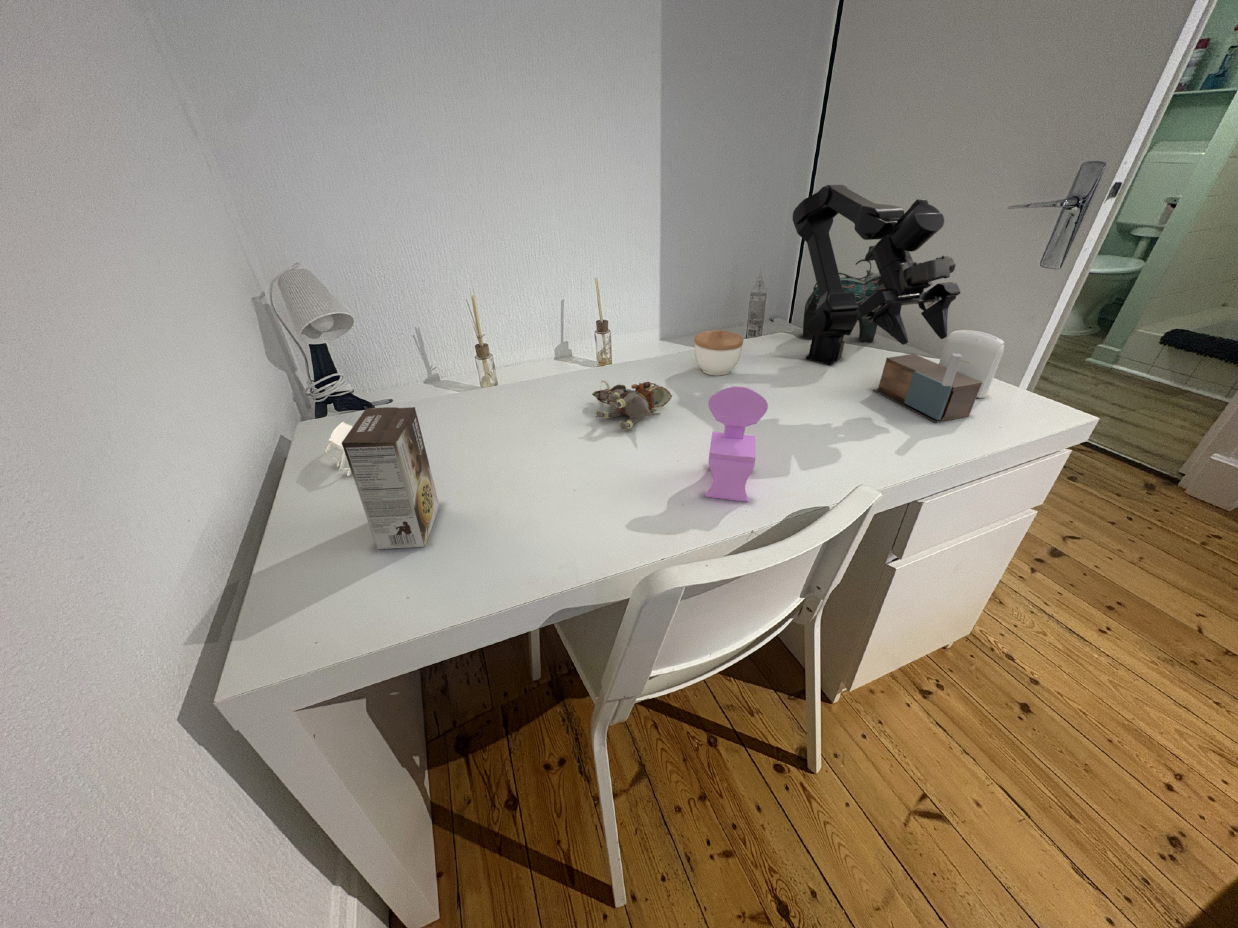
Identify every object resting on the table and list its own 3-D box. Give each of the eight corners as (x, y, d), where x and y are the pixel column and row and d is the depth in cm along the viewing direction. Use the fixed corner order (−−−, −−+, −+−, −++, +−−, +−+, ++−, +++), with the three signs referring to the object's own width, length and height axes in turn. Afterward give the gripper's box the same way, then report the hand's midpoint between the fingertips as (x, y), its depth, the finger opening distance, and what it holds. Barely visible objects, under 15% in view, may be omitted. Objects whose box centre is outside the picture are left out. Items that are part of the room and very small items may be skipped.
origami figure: (394, 462, 84) (386, 436, 82) (340, 481, 80) (330, 454, 77) (369, 436, 92) (361, 411, 89) (318, 452, 87) (309, 426, 85)
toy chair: (697, 497, 75) (706, 405, 67) (702, 466, 83) (711, 380, 75) (755, 504, 74) (771, 411, 66) (755, 472, 81) (769, 384, 73)
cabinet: (872, 390, 108) (881, 358, 104) (903, 385, 110) (913, 353, 106) (935, 423, 95) (948, 388, 91) (969, 416, 97) (982, 382, 93)
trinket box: (684, 373, 116) (687, 333, 111) (703, 359, 124) (706, 320, 119) (729, 383, 111) (733, 341, 106) (746, 367, 119) (751, 327, 114)
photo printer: (928, 385, 110) (947, 328, 103) (936, 380, 112) (956, 324, 105) (980, 400, 103) (1004, 341, 96) (989, 395, 105) (1013, 336, 99)
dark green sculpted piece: (876, 337, 137) (897, 258, 126) (881, 345, 131) (903, 263, 121) (799, 332, 141) (813, 255, 130) (800, 340, 135) (815, 260, 125)
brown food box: (395, 508, 74) (365, 407, 65) (441, 505, 74) (417, 404, 65) (375, 550, 66) (338, 442, 57) (426, 547, 66) (396, 439, 58)
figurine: (567, 384, 98) (626, 361, 109) (570, 413, 101) (627, 388, 112) (647, 408, 86) (705, 380, 96) (647, 441, 89) (704, 410, 99)
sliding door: (902, 403, 101) (921, 343, 94) (908, 402, 101) (927, 342, 95) (935, 420, 94) (958, 357, 88) (942, 419, 95) (965, 356, 88)
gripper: (887, 242, 87) (920, 324, 84) (969, 236, 92) (1003, 312, 89) (845, 280, 98) (873, 354, 95) (921, 273, 103) (949, 343, 100)
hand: (925, 340), depth 94 cm, fingers open, 9 cm apart
